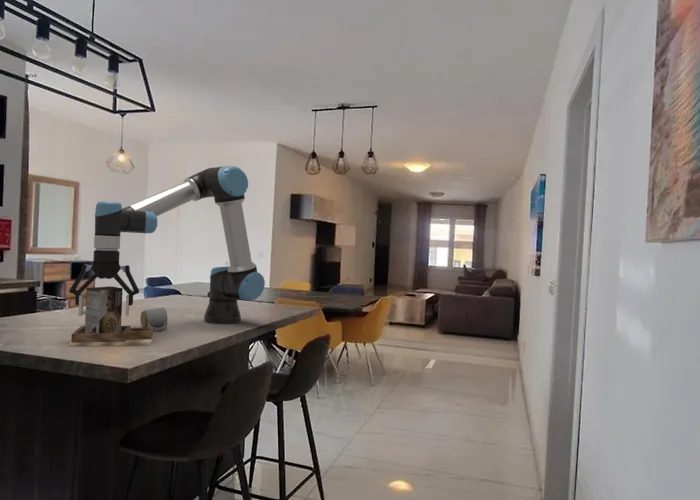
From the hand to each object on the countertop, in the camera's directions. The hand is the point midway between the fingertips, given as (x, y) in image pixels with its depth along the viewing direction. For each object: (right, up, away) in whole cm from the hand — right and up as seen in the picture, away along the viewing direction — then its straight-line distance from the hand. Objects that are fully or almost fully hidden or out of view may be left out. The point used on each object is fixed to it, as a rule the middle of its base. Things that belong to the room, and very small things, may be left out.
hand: (104, 315), depth 161 cm
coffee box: (0, -7, 0) cm, 7 cm away
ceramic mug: (+7, -9, +25) cm, 27 cm away
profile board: (+3, -8, +1) cm, 9 cm away
